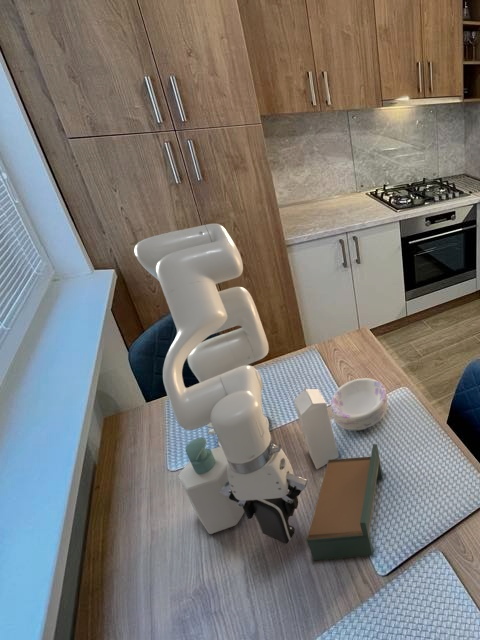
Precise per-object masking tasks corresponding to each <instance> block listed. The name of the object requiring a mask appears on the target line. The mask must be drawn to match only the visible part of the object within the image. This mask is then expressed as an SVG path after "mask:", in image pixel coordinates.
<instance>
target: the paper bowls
mask: <svg viewBox="0 0 480 640" xmlns="http://www.w3.org/2000/svg"><path fill="white" fill-rule="evenodd" d="M388 403H389V402H388V393H387V389H386V387H385V386H384V385H383V383H381V382H380V380H379V381H378V380H376V379H374V378H367V377H361V378H355V379H353V380H352V379H351V380H349V381H347V382H345V383H344V384H342V385H340V386H339V387H338V388H337V390H336V391H335V392H334V393H333V395H332V396H331V399H330V409H331V414H332V417H333V420H334V422H335V424H337V426H338V427H340V428H341V429H344V430H346V431H351V432H352V431H353V432H355V431H364V430H366V429H369V428H371V427H373V426H375V425H376V424H378V423H379V422H380V421H382V420H383V418H384V416H385V415H386V413H387V411H388V407H389V406H388V405H389V404H388Z"/></svg>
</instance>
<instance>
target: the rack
mask: <svg viewBox="0 0 480 640" xmlns="http://www.w3.org/2000/svg"><path fill="white" fill-rule="evenodd" d="M379 452H380V451H379V447H378V443H374V444H372V447H371V453H370V456H359V457H347V458H346V457H344V458H336V459H332V460H328V463H327V464H326V468H325V472H324V475H323V478H322V483H321V487H320V490H319V494H318V498H317V501H316V505H315V509H314V511H313V516H312V520H311V524H310V527H309V531H308V533H307V534H308V535H307V538H306V542H307V545H308V548H309V551H310V554H311V556H312V560H313V561H323V560H334V559H345V558H355V557H367V556H373V554H374V547H373V543H372V539H371V534H370V531H371V522H372V517H373V509H374V503H375V494H376V489H377V481H378V480H382V479H383V476H384V475H383V468H382V463H381V458H380V453H379Z"/></svg>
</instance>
